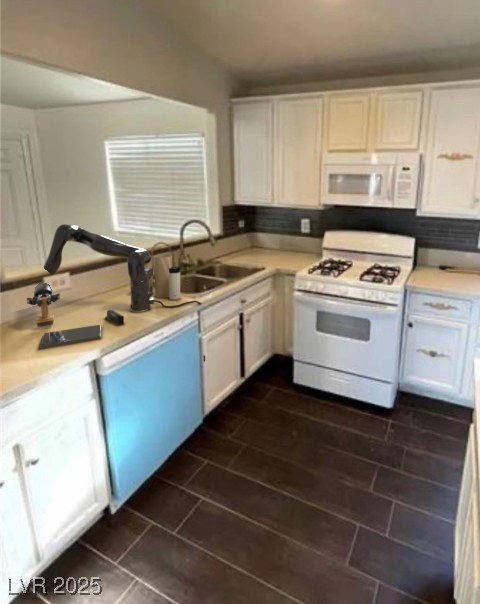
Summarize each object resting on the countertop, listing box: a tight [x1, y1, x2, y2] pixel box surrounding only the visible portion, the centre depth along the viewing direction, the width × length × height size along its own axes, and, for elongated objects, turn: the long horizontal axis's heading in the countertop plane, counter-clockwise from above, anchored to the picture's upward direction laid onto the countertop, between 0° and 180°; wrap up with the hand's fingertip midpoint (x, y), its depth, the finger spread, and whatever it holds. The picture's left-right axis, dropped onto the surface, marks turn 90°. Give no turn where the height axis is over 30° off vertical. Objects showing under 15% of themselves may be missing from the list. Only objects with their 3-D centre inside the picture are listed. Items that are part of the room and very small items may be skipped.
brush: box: [35, 297, 55, 328], centre depth 169 cm, size 6×4×13 cm
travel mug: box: [168, 266, 181, 301], centre depth 213 cm, size 6×7×20 cm
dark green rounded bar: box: [104, 309, 125, 326], centre depth 179 cm, size 5×3×15 cm
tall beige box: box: [153, 253, 173, 299], centre depth 219 cm, size 10×10×25 cm
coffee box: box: [145, 267, 154, 296], centre depth 219 cm, size 9×6×16 cm
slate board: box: [39, 324, 102, 350], centre depth 160 cm, size 22×14×2 cm, turn 119°
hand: (44, 303), depth 166 cm, fingers closed on brush, 2 cm apart
